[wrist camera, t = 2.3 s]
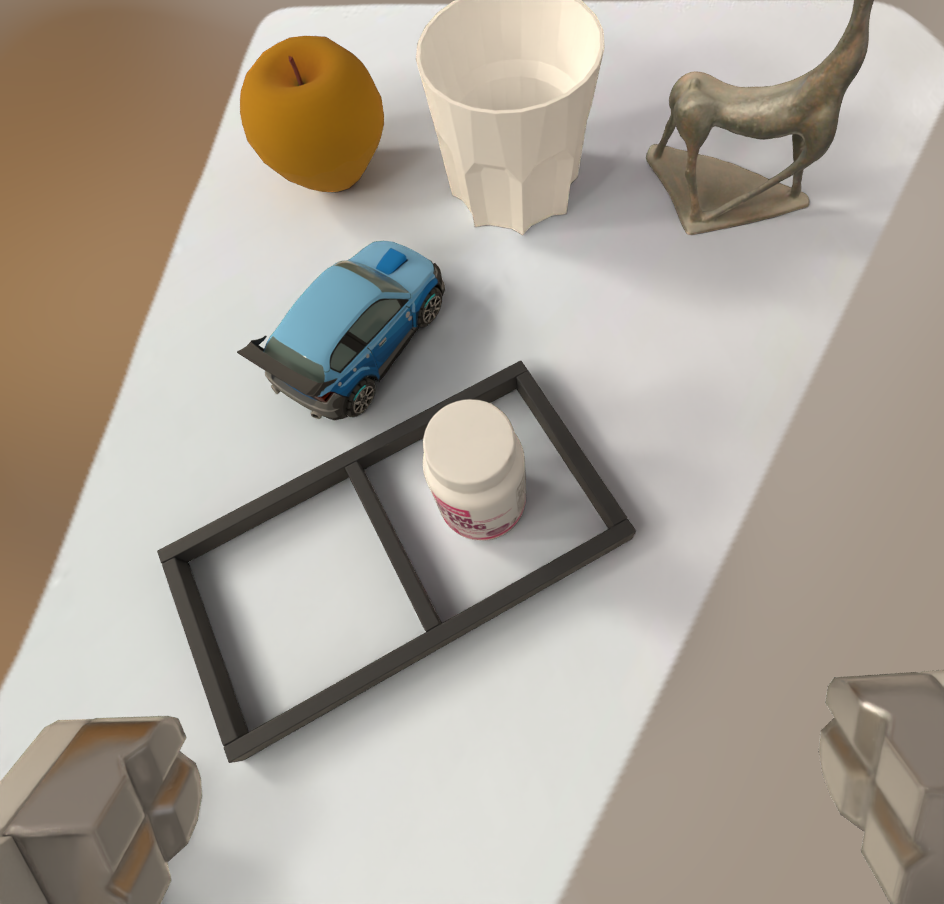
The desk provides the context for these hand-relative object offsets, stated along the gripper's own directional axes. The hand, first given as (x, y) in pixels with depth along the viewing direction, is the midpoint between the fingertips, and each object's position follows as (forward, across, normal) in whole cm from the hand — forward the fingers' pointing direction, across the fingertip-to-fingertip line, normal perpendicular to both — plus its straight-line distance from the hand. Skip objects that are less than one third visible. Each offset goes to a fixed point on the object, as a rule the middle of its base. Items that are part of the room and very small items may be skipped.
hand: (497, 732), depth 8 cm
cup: (+41, -2, -6) cm, 42 cm away
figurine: (+39, -15, -4) cm, 42 cm away
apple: (+43, +10, -8) cm, 45 cm away
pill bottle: (+25, +1, +10) cm, 27 cm away
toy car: (+33, +8, +2) cm, 34 cm away
